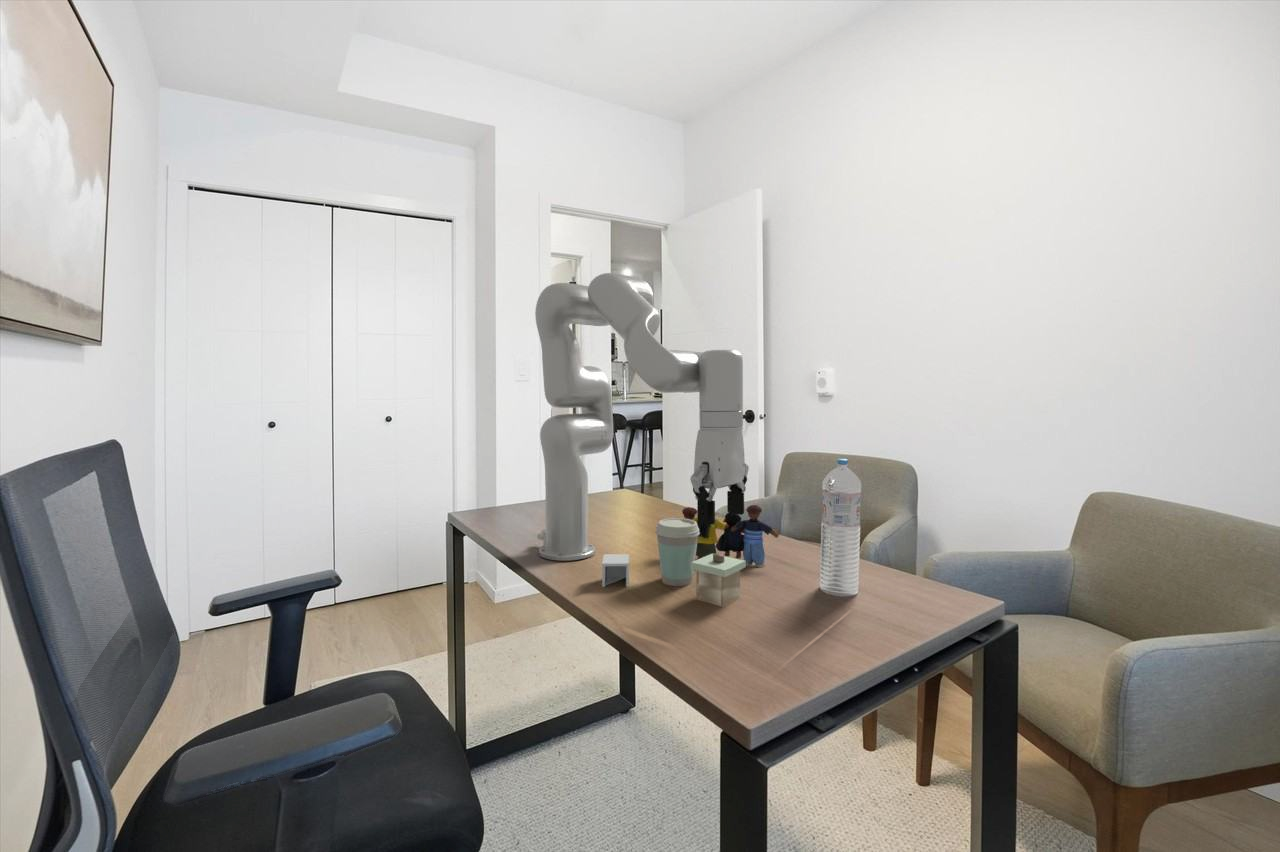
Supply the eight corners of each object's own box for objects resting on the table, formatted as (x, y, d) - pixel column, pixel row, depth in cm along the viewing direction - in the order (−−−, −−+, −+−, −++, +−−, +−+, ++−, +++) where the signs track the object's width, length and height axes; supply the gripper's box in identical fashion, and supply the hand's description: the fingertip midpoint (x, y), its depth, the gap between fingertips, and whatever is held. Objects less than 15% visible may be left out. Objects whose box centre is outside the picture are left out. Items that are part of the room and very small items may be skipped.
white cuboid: (603, 578, 118) (603, 554, 118) (629, 578, 119) (629, 554, 118) (602, 589, 113) (602, 563, 112) (628, 589, 113) (628, 563, 112)
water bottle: (830, 583, 116) (834, 456, 114) (864, 592, 111) (869, 459, 109) (812, 592, 111) (816, 459, 109) (847, 602, 106) (851, 463, 104)
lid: (691, 568, 106) (691, 555, 106) (712, 559, 111) (712, 547, 111) (725, 577, 101) (725, 563, 101) (745, 567, 107) (745, 554, 107)
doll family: (775, 558, 133) (776, 498, 132) (778, 571, 124) (779, 507, 123) (672, 553, 136) (672, 495, 135) (667, 565, 127) (668, 503, 126)
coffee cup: (696, 592, 111) (697, 529, 110) (651, 589, 113) (651, 526, 112) (701, 577, 119) (702, 518, 118) (659, 574, 121) (659, 516, 120)
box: (696, 601, 106) (696, 568, 106) (713, 593, 111) (713, 561, 110) (723, 609, 103) (723, 575, 102) (739, 600, 107) (740, 567, 107)
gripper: (728, 418, 113) (728, 507, 114) (674, 423, 100) (675, 524, 101) (764, 419, 108) (764, 512, 109) (712, 424, 95) (713, 530, 96)
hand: (721, 518), depth 105 cm, fingers open, 9 cm apart
